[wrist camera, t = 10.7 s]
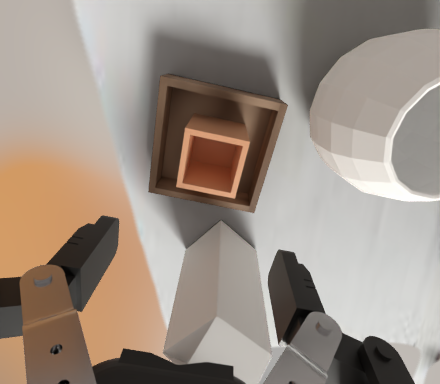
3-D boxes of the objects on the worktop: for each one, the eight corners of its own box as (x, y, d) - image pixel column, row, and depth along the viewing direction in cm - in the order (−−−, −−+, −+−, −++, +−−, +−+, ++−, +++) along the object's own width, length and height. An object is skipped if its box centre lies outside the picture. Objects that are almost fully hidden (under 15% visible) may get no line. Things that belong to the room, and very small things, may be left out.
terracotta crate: (245, 124, 29) (250, 141, 23) (233, 171, 31) (234, 198, 25) (194, 113, 29) (185, 127, 22) (186, 161, 31) (176, 186, 25)
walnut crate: (280, 99, 29) (287, 105, 25) (251, 196, 34) (254, 212, 30) (169, 73, 28) (160, 75, 24) (156, 177, 33) (148, 192, 29)
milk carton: (220, 218, 35) (214, 366, 18) (256, 249, 37) (281, 407, 20) (185, 248, 38) (150, 404, 21) (220, 276, 40) (216, 437, 23)
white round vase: (274, 104, 29) (307, 135, 17) (387, 1, 25) (541, -56, 13) (341, 185, 33) (407, 258, 21) (448, 109, 29) (610, 145, 17)
